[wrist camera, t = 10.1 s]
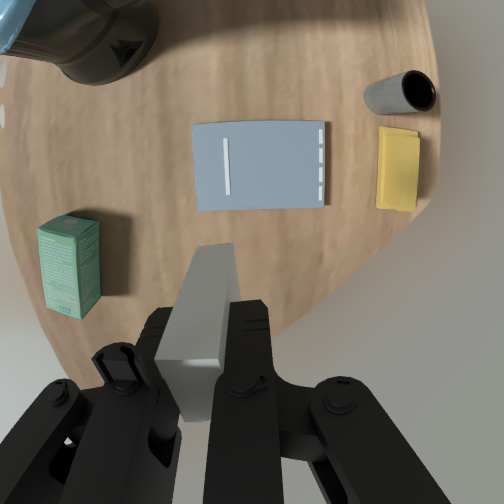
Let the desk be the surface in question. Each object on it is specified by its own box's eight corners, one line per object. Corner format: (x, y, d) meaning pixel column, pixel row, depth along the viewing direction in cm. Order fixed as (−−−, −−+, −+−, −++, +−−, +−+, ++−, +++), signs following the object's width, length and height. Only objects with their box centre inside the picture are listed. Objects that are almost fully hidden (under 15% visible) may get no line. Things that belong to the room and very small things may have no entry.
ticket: (193, 125, 32) (191, 125, 31) (322, 122, 32) (324, 121, 31) (199, 209, 37) (197, 212, 35) (321, 205, 36) (324, 208, 35)
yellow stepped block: (378, 126, 32) (400, 126, 26) (413, 131, 32) (437, 133, 26) (375, 206, 36) (395, 219, 31) (409, 207, 36) (430, 219, 30)
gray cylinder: (366, 114, 32) (405, 110, 22) (361, 82, 30) (398, 67, 20) (395, 115, 31) (438, 113, 22) (391, 83, 30) (432, 72, 20)
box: (101, 218, 37) (74, 237, 30) (102, 296, 42) (82, 322, 35) (63, 211, 36) (34, 227, 30) (68, 286, 42) (46, 309, 35)
